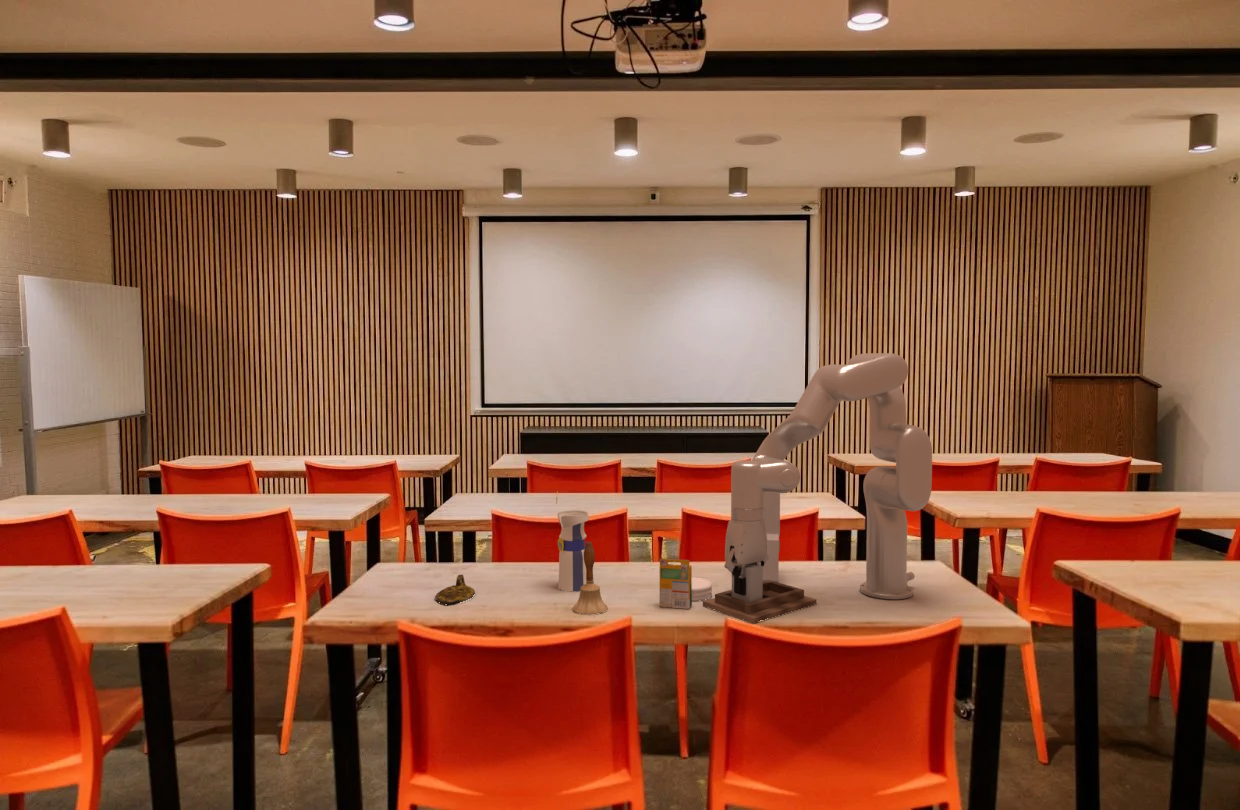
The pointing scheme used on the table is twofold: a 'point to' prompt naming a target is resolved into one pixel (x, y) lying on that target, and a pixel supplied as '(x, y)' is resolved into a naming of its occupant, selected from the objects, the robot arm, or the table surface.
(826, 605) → the table surface
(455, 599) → the seal
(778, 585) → the tray
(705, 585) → the white round stack
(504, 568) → the table surface
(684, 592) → the crayon box
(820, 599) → the table surface
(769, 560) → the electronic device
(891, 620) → the table surface
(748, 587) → the grey block
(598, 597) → the hand bell
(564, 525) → the water bottle
